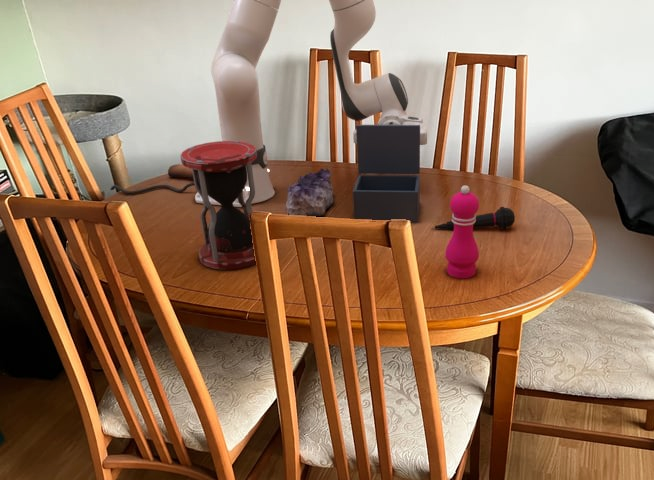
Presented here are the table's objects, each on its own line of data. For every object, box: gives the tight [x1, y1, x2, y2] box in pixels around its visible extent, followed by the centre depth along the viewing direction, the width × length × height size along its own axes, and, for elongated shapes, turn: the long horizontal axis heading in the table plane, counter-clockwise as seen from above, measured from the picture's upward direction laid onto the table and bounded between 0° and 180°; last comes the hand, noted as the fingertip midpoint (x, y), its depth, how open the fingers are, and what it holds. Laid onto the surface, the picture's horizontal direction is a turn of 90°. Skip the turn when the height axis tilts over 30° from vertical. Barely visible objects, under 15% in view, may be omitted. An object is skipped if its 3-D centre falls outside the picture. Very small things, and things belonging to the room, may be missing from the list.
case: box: [352, 174, 421, 223], centre depth 164 cm, size 13×17×8 cm
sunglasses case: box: [167, 163, 194, 179], centre depth 193 cm, size 18×7×7 cm, turn 68°
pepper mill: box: [444, 184, 480, 279], centre depth 131 cm, size 7×7×20 cm
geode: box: [285, 168, 335, 217], centre depth 169 cm, size 20×12×10 cm, turn 169°
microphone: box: [434, 206, 516, 231], centre depth 155 cm, size 6×6×20 cm
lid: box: [355, 124, 421, 175], centre depth 164 cm, size 13×17×1 cm
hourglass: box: [179, 140, 257, 271], centre depth 140 cm, size 16×16×25 cm
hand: (388, 143), depth 163 cm, fingers closed, pressing on lid
